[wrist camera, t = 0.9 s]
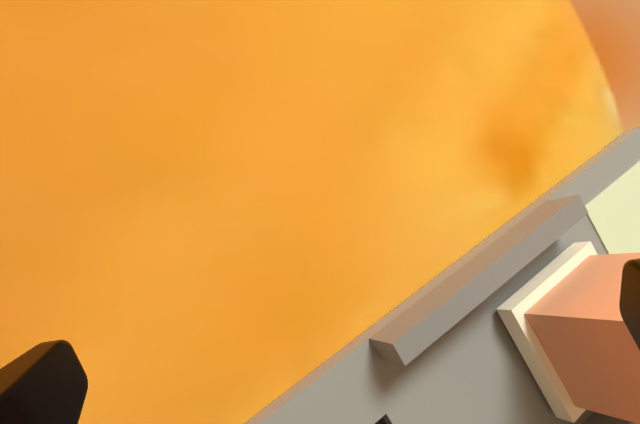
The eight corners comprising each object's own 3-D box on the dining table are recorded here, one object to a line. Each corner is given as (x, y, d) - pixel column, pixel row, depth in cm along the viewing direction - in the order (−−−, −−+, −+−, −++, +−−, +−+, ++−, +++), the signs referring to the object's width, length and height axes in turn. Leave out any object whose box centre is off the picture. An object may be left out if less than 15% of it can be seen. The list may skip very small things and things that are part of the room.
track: (322, 712, 19) (355, 783, 17) (173, 477, 19) (182, 512, 16) (708, 288, 31) (766, 289, 28) (626, 130, 30) (678, 115, 27)
